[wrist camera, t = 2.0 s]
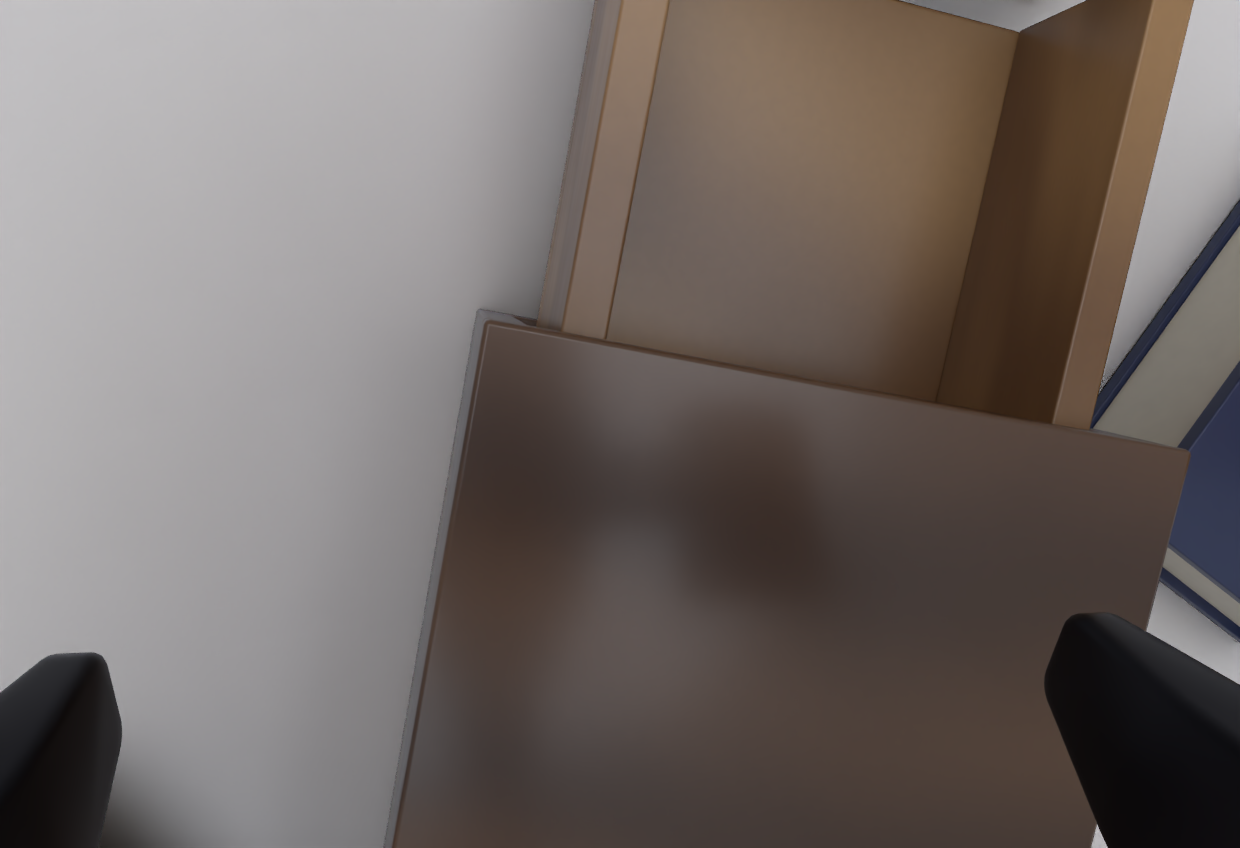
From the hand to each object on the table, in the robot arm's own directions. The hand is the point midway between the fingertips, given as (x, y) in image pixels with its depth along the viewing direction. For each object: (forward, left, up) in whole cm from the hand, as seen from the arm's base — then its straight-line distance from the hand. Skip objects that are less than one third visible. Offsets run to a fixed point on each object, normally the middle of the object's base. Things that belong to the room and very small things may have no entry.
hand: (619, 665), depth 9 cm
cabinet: (-7, 0, -14) cm, 16 cm away
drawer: (+3, -9, -13) cm, 16 cm away
